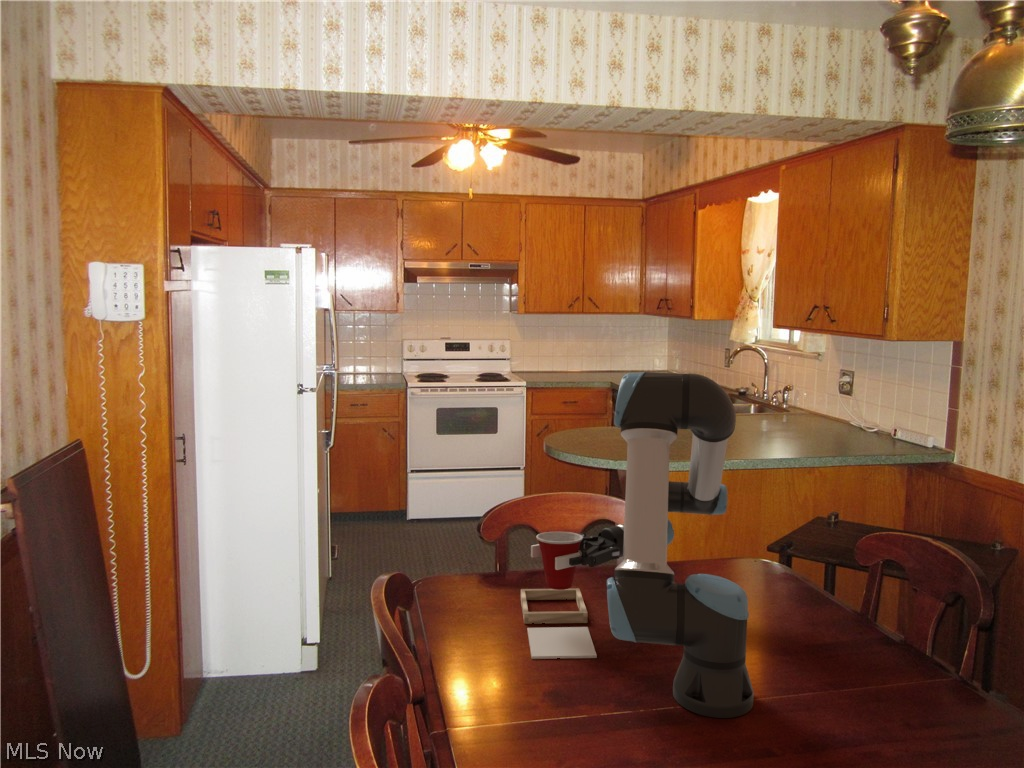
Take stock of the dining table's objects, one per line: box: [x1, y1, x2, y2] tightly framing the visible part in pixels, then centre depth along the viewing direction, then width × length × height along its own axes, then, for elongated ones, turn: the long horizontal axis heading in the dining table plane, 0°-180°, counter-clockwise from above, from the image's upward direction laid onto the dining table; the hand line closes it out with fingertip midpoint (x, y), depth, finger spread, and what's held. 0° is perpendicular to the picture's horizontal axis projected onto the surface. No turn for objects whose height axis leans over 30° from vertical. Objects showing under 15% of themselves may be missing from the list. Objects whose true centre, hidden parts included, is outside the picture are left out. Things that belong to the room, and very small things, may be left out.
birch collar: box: [520, 587, 589, 625], centre depth 192 cm, size 15×15×2 cm
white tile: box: [526, 626, 598, 660], centre depth 174 cm, size 14×14×1 cm
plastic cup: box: [535, 531, 583, 590], centre depth 180 cm, size 11×11×12 cm
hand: (543, 557), depth 177 cm, fingers closed on plastic cup, 9 cm apart
